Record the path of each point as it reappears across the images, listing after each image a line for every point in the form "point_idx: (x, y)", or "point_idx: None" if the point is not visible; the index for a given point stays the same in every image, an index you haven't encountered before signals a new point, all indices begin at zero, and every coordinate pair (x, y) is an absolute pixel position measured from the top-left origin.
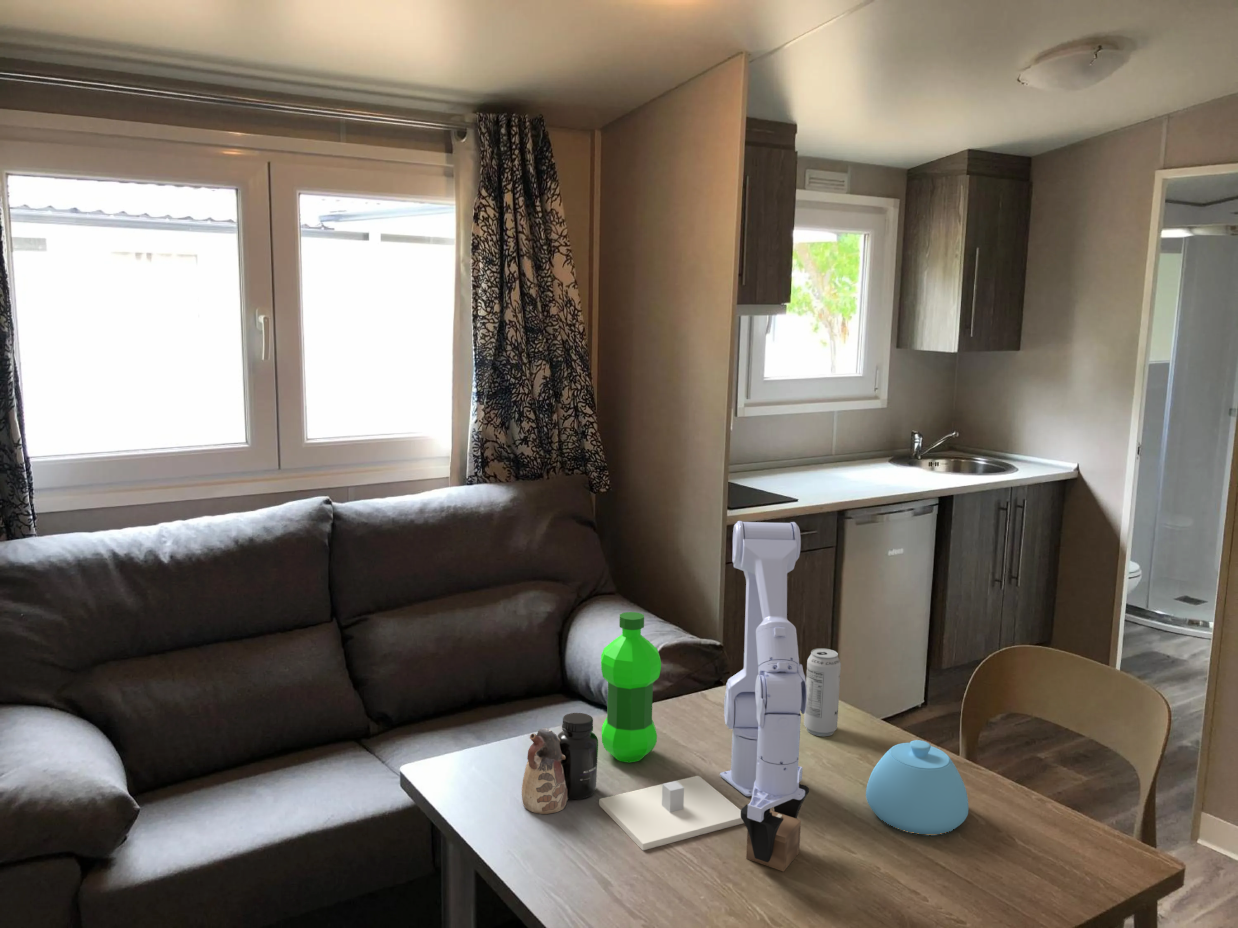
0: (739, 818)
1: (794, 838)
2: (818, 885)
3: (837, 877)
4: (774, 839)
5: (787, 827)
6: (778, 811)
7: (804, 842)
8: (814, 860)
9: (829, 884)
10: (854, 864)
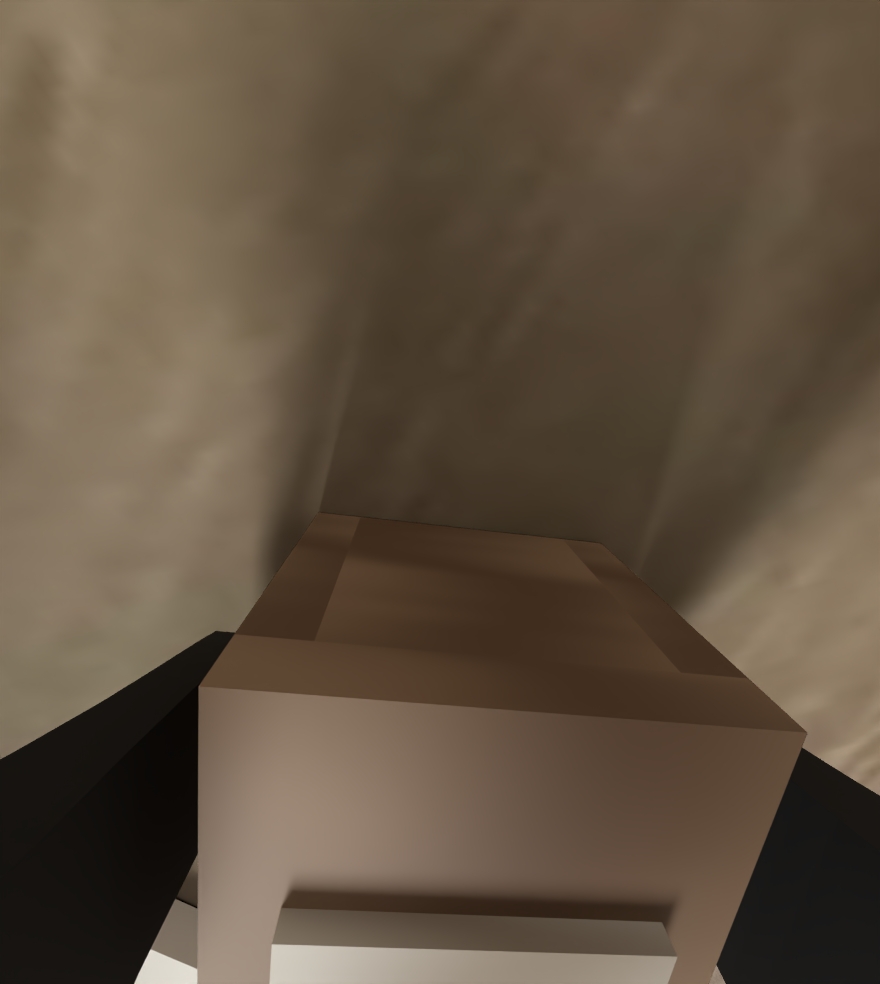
0: (181, 955)
1: (436, 605)
2: (682, 271)
3: (516, 141)
4: (846, 815)
5: (526, 780)
6: (127, 951)
7: (155, 513)
8: (361, 382)
9: (639, 187)
10: (239, 20)
